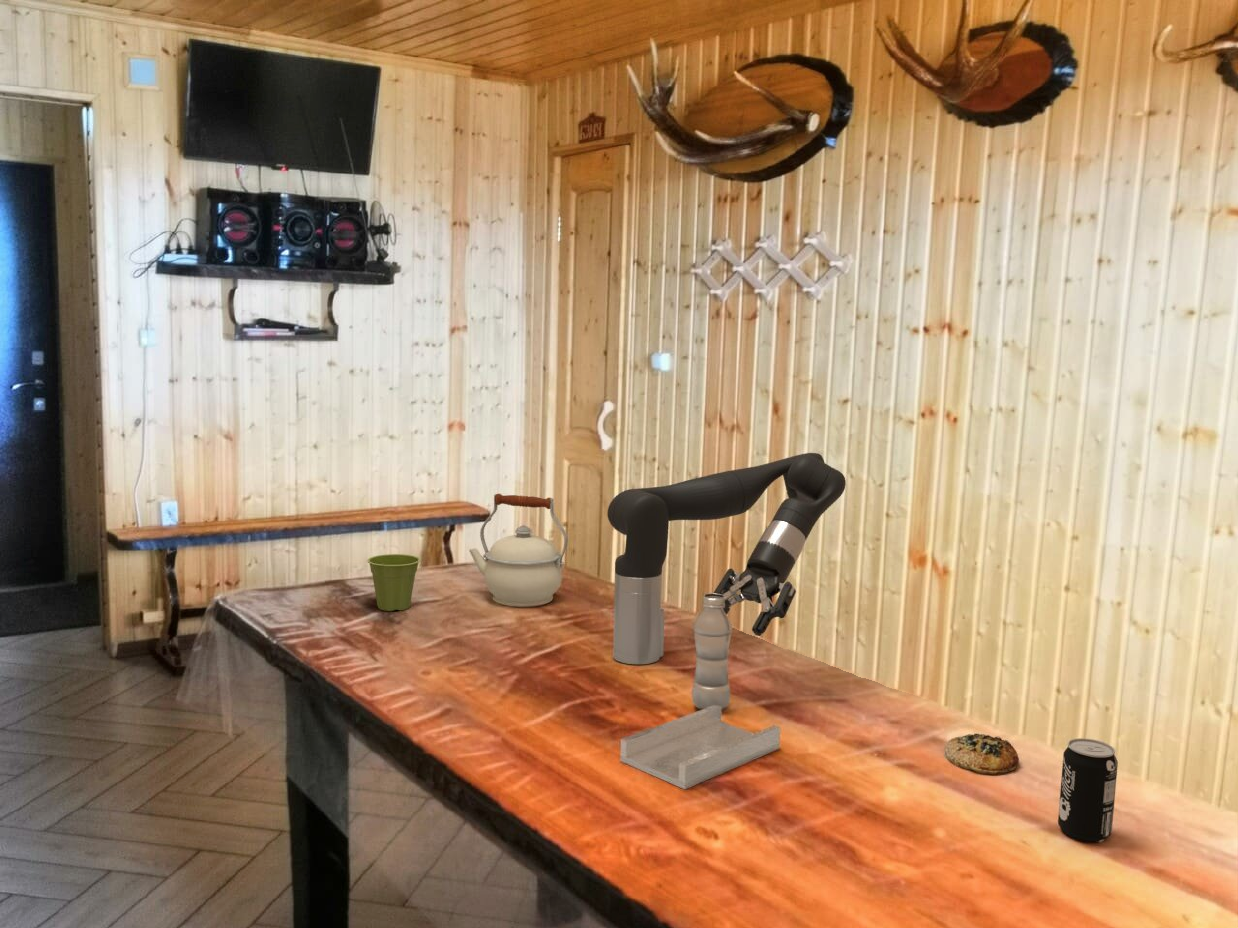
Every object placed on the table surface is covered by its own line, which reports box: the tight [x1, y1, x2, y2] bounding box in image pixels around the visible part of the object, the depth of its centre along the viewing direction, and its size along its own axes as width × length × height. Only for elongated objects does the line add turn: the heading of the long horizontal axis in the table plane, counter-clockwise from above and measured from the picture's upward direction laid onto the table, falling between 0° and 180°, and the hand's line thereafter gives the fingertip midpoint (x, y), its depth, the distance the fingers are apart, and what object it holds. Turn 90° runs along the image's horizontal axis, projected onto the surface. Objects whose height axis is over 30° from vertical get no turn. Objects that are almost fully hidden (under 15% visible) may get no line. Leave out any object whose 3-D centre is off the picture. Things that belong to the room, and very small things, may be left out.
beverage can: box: [1057, 738, 1119, 843], centre depth 142 cm, size 7×7×12 cm
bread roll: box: [943, 733, 1020, 775], centre depth 165 cm, size 11×11×5 cm
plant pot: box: [366, 553, 422, 612], centre depth 244 cm, size 12×12×11 cm
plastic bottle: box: [691, 592, 733, 711], centre depth 184 cm, size 6×7×20 cm
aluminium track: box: [619, 705, 781, 790], centre depth 166 cm, size 22×13×4 cm, turn 134°
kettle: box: [468, 493, 569, 608], centre depth 253 cm, size 25×18×25 cm
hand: (735, 627), depth 185 cm, fingers open, 8 cm apart
